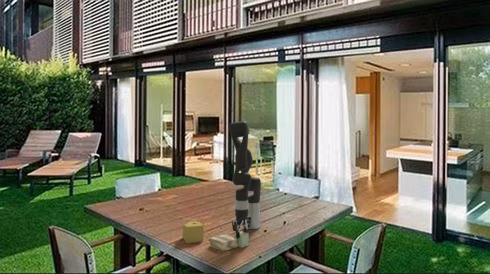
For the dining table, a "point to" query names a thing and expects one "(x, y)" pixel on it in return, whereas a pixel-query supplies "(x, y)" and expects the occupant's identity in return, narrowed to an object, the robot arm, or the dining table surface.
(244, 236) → the block
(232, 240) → the birch box
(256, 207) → the robot arm
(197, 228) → the cheese
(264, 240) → the dining table surface
